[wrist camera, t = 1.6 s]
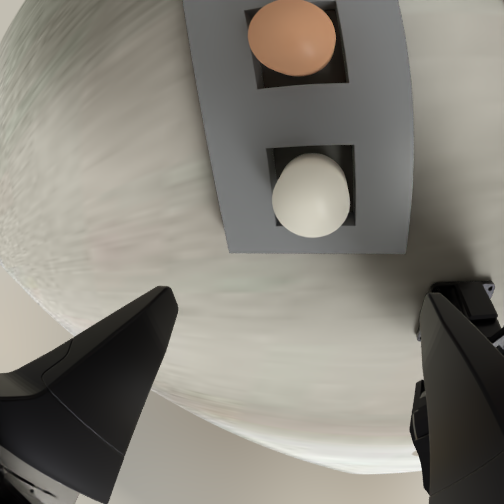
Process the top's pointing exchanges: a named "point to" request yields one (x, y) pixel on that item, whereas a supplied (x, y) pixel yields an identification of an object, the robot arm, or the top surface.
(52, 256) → the top surface
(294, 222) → the button white
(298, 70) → the button terracotta
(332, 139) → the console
